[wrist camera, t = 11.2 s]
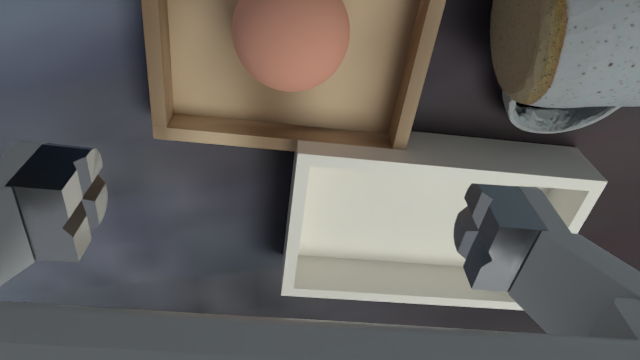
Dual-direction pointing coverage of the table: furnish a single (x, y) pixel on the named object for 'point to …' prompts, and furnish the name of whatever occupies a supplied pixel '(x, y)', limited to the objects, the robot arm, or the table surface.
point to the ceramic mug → (565, 60)
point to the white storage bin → (411, 214)
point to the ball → (291, 41)
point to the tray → (279, 106)
